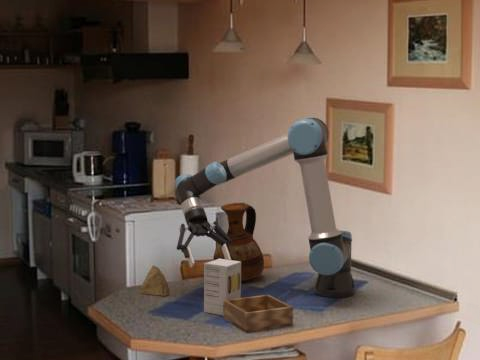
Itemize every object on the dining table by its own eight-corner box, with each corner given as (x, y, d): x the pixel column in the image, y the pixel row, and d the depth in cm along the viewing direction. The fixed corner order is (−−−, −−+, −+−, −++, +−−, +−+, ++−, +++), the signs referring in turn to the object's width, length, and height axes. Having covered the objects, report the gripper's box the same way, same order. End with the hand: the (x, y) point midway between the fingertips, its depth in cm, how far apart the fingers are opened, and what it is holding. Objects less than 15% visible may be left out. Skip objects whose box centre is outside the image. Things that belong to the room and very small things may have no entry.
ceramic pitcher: (202, 279, 315) (202, 203, 311) (232, 270, 332) (233, 197, 328) (244, 287, 304) (244, 208, 300) (273, 276, 320) (274, 201, 317)
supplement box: (226, 316, 267) (226, 266, 265) (203, 312, 272) (203, 263, 269) (241, 309, 275) (241, 260, 273) (218, 305, 280) (218, 257, 278)
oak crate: (268, 312, 272) (268, 294, 271) (292, 325, 257) (293, 307, 257) (223, 318, 265) (223, 300, 264) (246, 332, 250) (246, 313, 249)
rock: (177, 288, 293) (166, 279, 301) (165, 272, 289) (154, 263, 297) (154, 309, 290) (144, 298, 298) (142, 292, 286) (131, 282, 294)
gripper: (223, 217, 297) (240, 265, 286) (158, 221, 287) (174, 272, 275) (229, 204, 292) (247, 254, 281) (163, 209, 281) (179, 260, 270)
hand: (211, 263), depth 278 cm, fingers open, 13 cm apart
